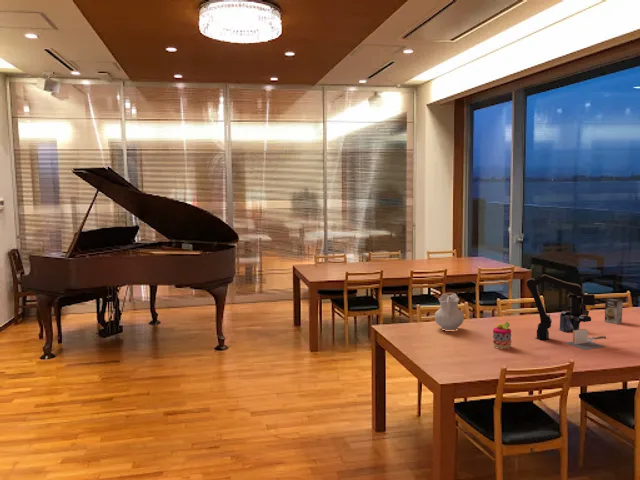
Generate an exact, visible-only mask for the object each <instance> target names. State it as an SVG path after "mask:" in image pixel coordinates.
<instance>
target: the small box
mask: <svg viewBox="0 0 640 480" xmlns="http://www.w3.org/2000/svg"><path fill="white" fill-rule="evenodd" d="M577 317H578V316H577ZM568 318H569V316H568V315H566V316H561V313H560V314H559V330H560V331H561V332H564V333H568V332H569V333H571V332H572V333H573V330H574V328H573V326H572V324H571V322H570V321H569V319H568ZM577 330H580V325H579V326H578V328H577Z"/></svg>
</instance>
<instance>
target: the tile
mask: <svg viewBox="0 0 640 480" xmlns="http://www.w3.org/2000/svg"><path fill="white" fill-rule="evenodd" d="M588 330H589V329H587V328H581V329H580V328H579V330H573V332H572V342H573V344H581V343H587V338H588V336H589V335H588Z"/></svg>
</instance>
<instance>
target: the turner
mask: <svg viewBox="0 0 640 480" xmlns="http://www.w3.org/2000/svg"><path fill="white" fill-rule="evenodd" d="M606 338H607V336H606V335H600V336H592V337H587V340H588V341H591V342H593V341H597V339H606Z"/></svg>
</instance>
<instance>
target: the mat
mask: <svg viewBox="0 0 640 480" xmlns="http://www.w3.org/2000/svg"><path fill="white" fill-rule="evenodd" d="M565 344H567V345H569V346H572V347H575V348H578V349H581V350H583V351H587V350H593V349H594V350H595V349H602V348H607V346H606V345H603V344H599V343H597V342H593V341H588V340H587V343H581V344H573V341H568V342H565Z"/></svg>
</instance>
